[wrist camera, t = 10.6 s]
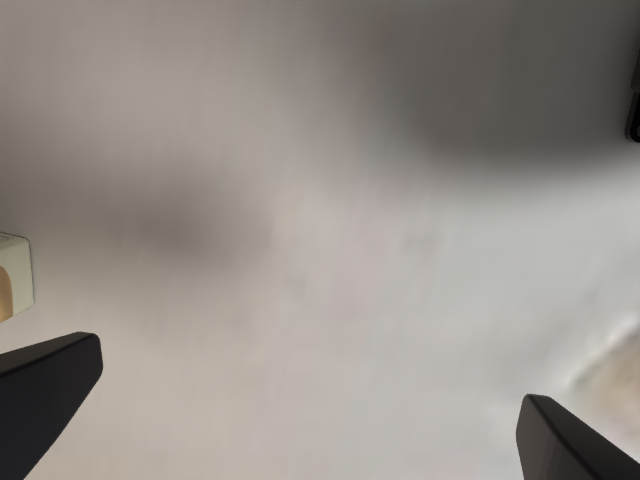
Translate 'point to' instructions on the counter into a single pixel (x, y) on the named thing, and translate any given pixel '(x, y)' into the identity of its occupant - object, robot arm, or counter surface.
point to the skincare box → (14, 276)
